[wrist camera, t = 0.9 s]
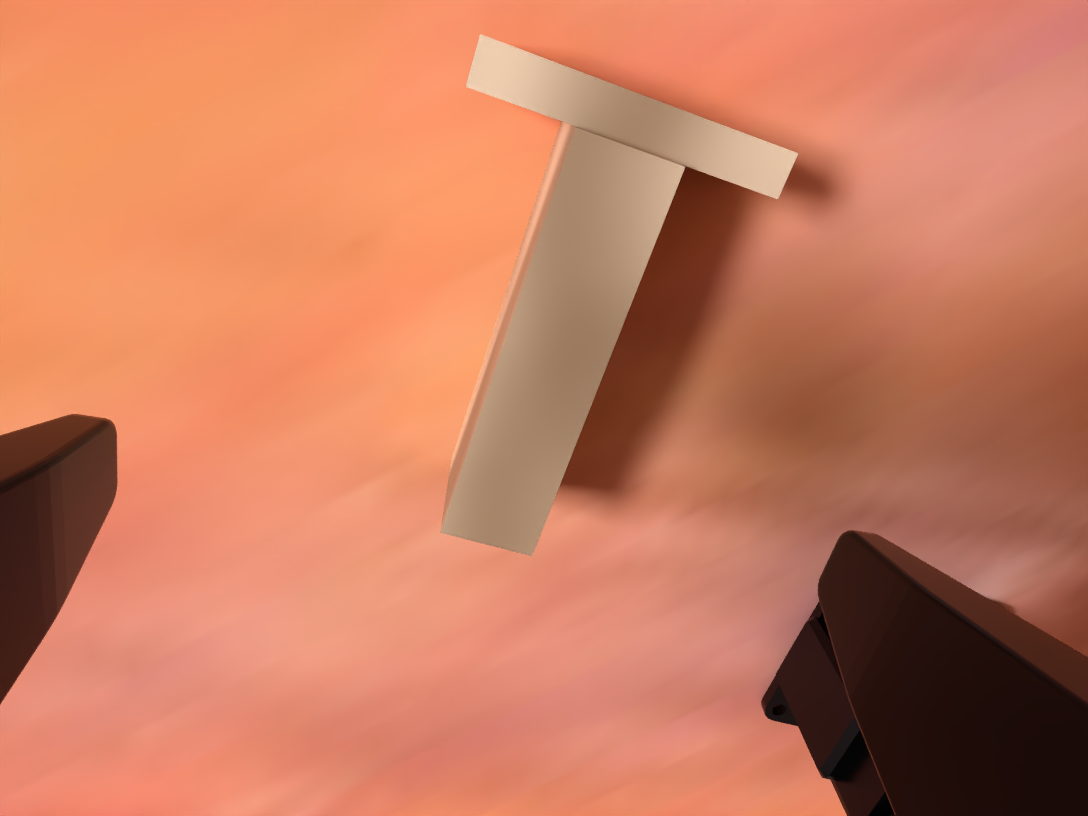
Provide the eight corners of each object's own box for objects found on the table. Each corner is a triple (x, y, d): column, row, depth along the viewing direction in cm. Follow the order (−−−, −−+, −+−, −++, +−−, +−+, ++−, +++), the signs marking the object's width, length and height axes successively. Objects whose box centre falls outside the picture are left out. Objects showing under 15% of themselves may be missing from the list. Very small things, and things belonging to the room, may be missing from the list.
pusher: (749, 140, 19) (806, 155, 15) (599, 498, 23) (615, 577, 20) (485, 41, 18) (479, 32, 14) (375, 437, 22) (348, 509, 18)
